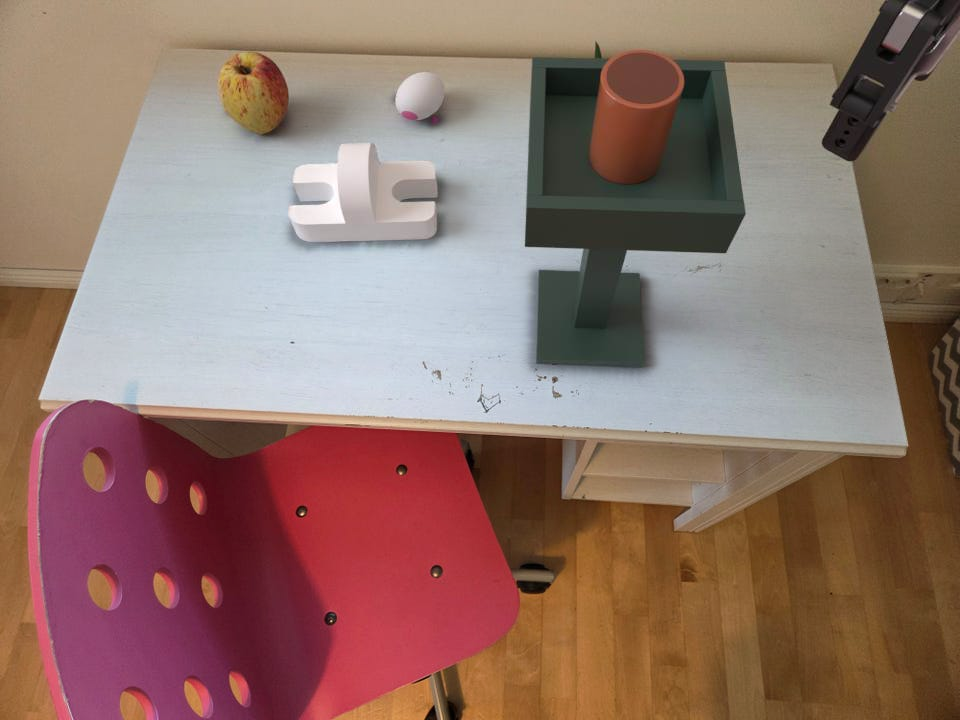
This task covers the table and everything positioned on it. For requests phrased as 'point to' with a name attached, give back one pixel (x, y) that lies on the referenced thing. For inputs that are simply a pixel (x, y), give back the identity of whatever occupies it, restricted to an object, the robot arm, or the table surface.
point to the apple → (253, 91)
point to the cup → (634, 115)
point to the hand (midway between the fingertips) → (875, 110)
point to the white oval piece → (420, 96)
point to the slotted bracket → (364, 198)
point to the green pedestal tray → (620, 206)
